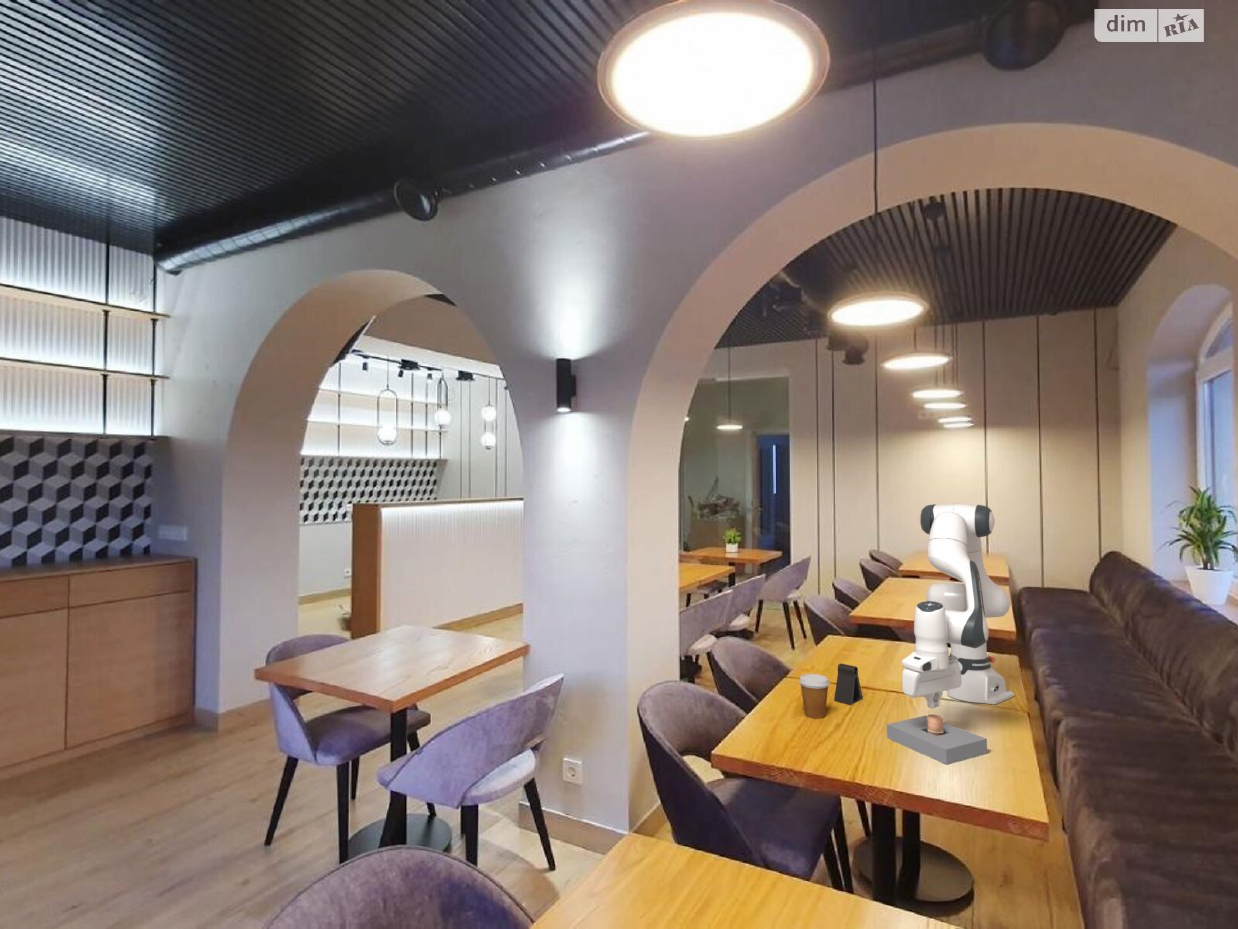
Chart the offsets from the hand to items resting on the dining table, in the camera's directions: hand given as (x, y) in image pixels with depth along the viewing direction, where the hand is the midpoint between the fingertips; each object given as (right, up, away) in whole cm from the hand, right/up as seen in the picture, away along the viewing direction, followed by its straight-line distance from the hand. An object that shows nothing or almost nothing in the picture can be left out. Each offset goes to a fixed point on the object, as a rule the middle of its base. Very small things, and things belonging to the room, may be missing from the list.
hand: (933, 707), depth 184 cm
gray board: (-1, -10, -3) cm, 10 cm away
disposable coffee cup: (-27, -11, +23) cm, 37 cm away
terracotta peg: (-1, -10, -3) cm, 10 cm away
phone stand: (-12, -12, +36) cm, 40 cm away
